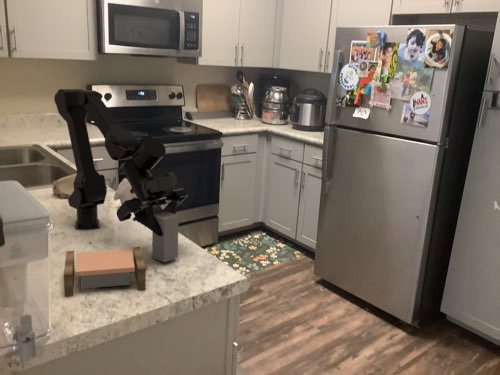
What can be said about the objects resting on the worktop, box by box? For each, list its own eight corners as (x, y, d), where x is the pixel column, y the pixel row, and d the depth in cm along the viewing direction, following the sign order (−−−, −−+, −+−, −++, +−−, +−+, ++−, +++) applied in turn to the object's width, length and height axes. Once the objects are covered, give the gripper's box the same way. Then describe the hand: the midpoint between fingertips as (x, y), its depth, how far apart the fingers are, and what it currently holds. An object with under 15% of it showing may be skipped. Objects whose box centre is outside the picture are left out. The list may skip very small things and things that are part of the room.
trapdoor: (77, 268, 106) (76, 252, 105) (131, 264, 110) (131, 249, 109) (75, 289, 97) (75, 271, 96) (134, 284, 101) (134, 267, 100)
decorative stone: (99, 196, 162) (99, 174, 160) (55, 200, 155) (54, 177, 153) (94, 190, 169) (94, 168, 167) (52, 193, 162) (51, 171, 160)
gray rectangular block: (152, 256, 115) (152, 214, 112) (165, 252, 118) (166, 211, 115) (164, 262, 112) (164, 219, 110) (177, 257, 116) (178, 215, 113)
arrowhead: (137, 205, 155) (137, 177, 153) (139, 208, 153) (139, 179, 150) (113, 207, 152) (112, 177, 150) (114, 209, 150) (114, 179, 147)
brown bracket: (67, 271, 107) (66, 251, 105) (140, 266, 112) (140, 246, 110) (64, 296, 96) (63, 274, 94) (145, 289, 101) (145, 268, 100)
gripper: (124, 167, 104) (155, 227, 101) (184, 157, 118) (213, 209, 115) (103, 192, 111) (132, 249, 108) (163, 180, 125) (190, 230, 122)
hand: (169, 233), depth 113 cm, fingers closed on gray rectangular block, 4 cm apart
